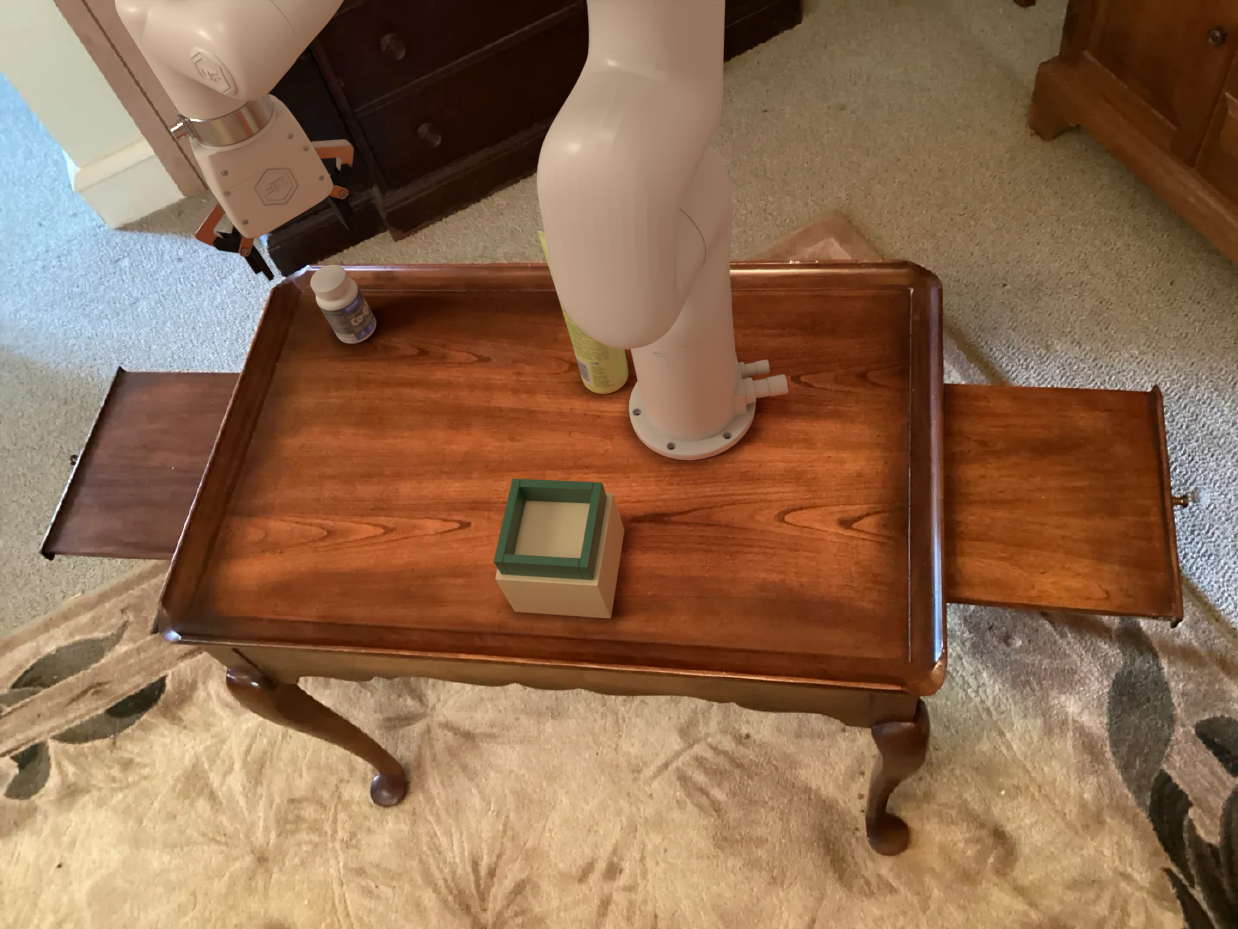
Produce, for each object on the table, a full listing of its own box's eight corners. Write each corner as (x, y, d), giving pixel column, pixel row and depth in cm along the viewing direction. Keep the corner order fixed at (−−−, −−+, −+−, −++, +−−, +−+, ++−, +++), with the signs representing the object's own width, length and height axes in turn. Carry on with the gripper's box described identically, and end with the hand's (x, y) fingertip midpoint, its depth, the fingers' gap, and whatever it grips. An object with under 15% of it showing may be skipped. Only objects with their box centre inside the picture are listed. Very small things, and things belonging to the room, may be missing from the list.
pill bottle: (369, 346, 108) (339, 295, 101) (331, 343, 109) (299, 293, 102) (383, 313, 110) (355, 262, 103) (345, 311, 111) (315, 260, 104)
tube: (629, 350, 102) (598, 213, 86) (640, 387, 99) (610, 252, 83) (577, 364, 102) (536, 229, 86) (587, 401, 99) (546, 269, 83)
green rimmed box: (624, 530, 90) (608, 477, 82) (611, 619, 86) (592, 572, 78) (532, 525, 92) (508, 473, 84) (514, 612, 88) (486, 566, 80)
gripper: (155, 179, 81) (248, 313, 95) (331, 81, 85) (395, 223, 99) (124, 138, 85) (219, 272, 99) (295, 45, 89) (362, 188, 103)
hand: (307, 248), depth 99 cm, fingers open, 9 cm apart
